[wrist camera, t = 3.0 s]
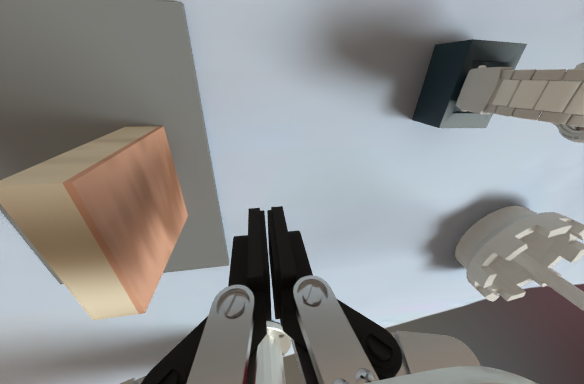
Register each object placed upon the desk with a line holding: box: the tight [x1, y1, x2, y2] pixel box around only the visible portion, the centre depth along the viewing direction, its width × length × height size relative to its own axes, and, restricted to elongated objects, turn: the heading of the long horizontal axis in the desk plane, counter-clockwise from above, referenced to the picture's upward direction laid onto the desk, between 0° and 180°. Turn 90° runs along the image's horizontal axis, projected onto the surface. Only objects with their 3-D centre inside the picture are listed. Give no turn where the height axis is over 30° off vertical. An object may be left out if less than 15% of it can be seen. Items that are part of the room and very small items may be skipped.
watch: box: [412, 40, 584, 143], centre depth 13 cm, size 6×8×11 cm
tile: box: [0, 126, 188, 320], centre depth 13 cm, size 8×2×9 cm, turn 178°
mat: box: [0, 0, 229, 284], centre depth 16 cm, size 22×16×1 cm
